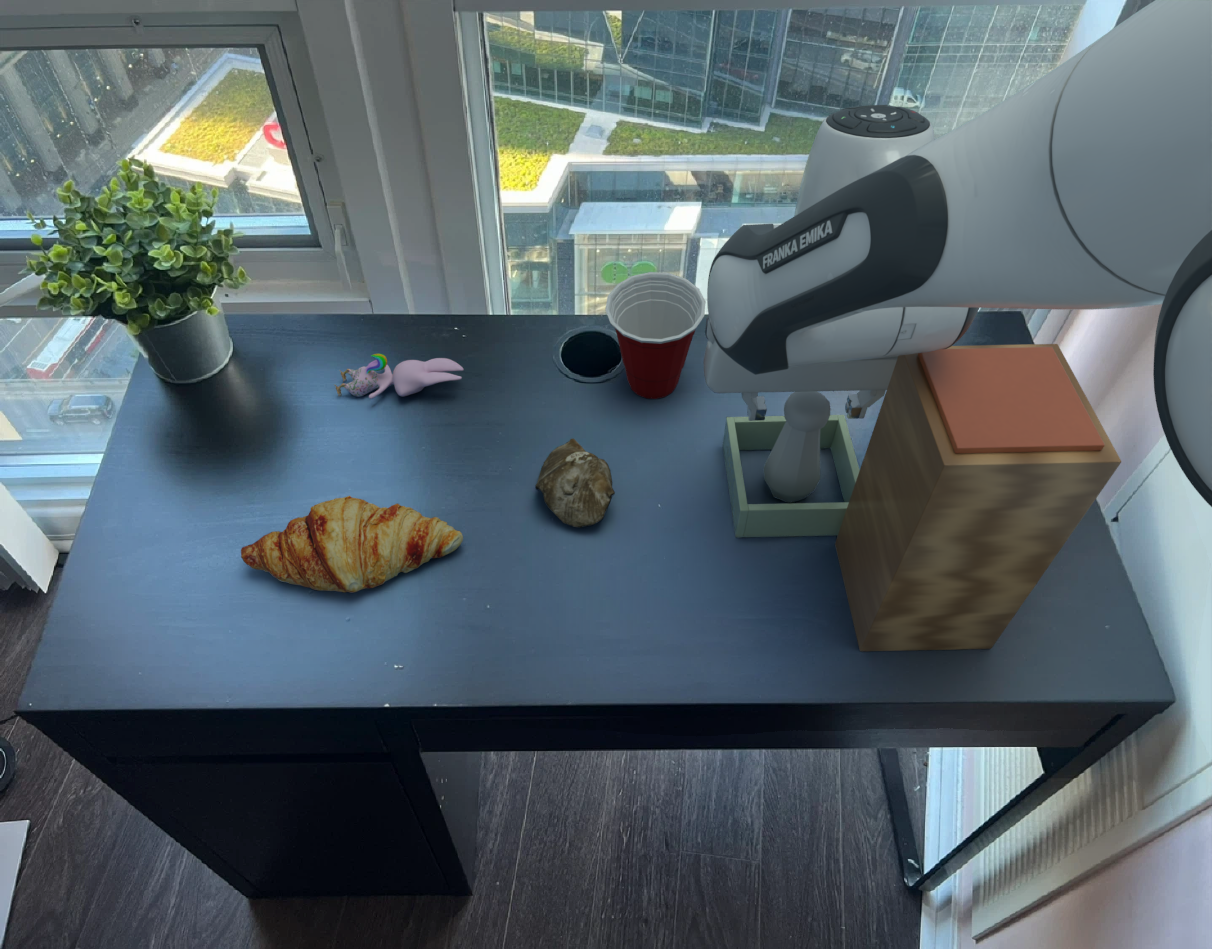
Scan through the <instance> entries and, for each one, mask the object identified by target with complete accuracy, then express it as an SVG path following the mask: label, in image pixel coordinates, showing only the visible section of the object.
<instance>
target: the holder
mask: <svg viewBox="0 0 1212 949" xmlns="http://www.w3.org/2000/svg"><path fill="white" fill-rule="evenodd" d="M785 423H786V420H785V416H784V415H765V420H759V421H749V419H748V416H727V417H725V423H724V424H725V425H724V432H723V438H722V452H723V459H724V466H725V472H726V480H727V486H728V493H729V499H730V500H729V501H730V509H731V515H732V523H733V529H734V537H735V538H777V537H781V538H782V537H821V536H825V537H826V536H828V537H829V536H838V533H839V530H840V527H841V524H842V521H843V518H844V516H845V513H846V510H847V507H848V504H849V501H850V498H851V495H852V492H853V489H854V486H855V483H856V480H857V477H858V474H859V471H860V466H859V462H858V459H857V456H856V451H855V448H854V445H853V441H852V437H851V434H850V429H849V426H848V423H847V419H846V416H845V414H830V417H829V419H828V421H827V423H826V425H825V426H824V427H823V428H821V429H820V449H830V452H831V455H832V459H833V463H834V467H835V472H836V475H837V479H838V484H839V486H840V491H841V494H842V500H843V502H839V501H838V502H796V503H795V502H792V503H748V498H747V492H746V486H745V485H746V484H745V481H744V479H745V478H744V473H743V466H742V460H741V454H740V451H759V450H761V451H762V450H763V451H764V450H772V449H773V447H774V445H775V443H776V441H777V439H778V437H779V435H780V433H781V431H782V429H783V427H784V425H785Z"/></svg>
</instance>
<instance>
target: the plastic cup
mask: <svg viewBox="0 0 1212 949" xmlns="http://www.w3.org/2000/svg"><path fill="white" fill-rule="evenodd" d="M706 303H707V302H706V300H705V297H704V295H703V294H702V291H701V290H700V288H699V287H698V286H696V285H695V284H693V283H692V282H691V281H690V280H688V278H686V277H682V276H679V275H675V274H674V273H670V272H659V271H658V272H657V271H649V272H644V273H640V274H635V275H631V276H629V277H628V278H625V279H624V280H622V281H620V282H619V283H617V284H616V285H615V286H614V287H613V289H612V290H611V291H610V293H609V294H608V295H607V297H606V303H605V309H604V310H605V312H606V313H605V314H606V315H607V318H608V320H609V323H610V325H611V326H612V327H613V328H614V330H615V332H616V337H617V342H618V346H619V351H620V355H621V358H622V364H623V367H624V370H625V374H626V380H627V382H628V385H629V387H630V389H631V391H633V392H634V394H636V395H637V396H640V397H642V398H644V399H653V400H656V399H661V398H665V397H667V396H669V395H671V394H672V393H673V392H674V391H675V389H676V387H677V385H678V384H679V382H680V378H681V374H682V370H683V369H684V367H685V363H686V360H687V357H688V354H689V350H690V347H691V343H692V340H693V337H694V335H695V333H696V330H697V328H698V327H699V325H700V323H701V322H702V321H703V319H704V318H705V314H706Z"/></svg>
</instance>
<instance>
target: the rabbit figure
mask: <svg viewBox="0 0 1212 949" xmlns="http://www.w3.org/2000/svg"><path fill="white" fill-rule="evenodd" d="M370 357H373V358H374V360H372V361H371V362H369V363H368V364H367V366H360V367H359V368H357V369H351V368H346V370H344V371H342V370H340V369H338V371H339V373H340V376H341V378H342V380H343V381H342V383H341V384H340V385H338V386H337V384H334V387H335V390H336V392H337V395H338V397H342V395H343V394H342V389H341V388H344V389H345V390H347V392H349V393H350V394H351V395H352V396H354V397H363V396H365V395H367V394H369V393H370V394H369V395H368V399H370V400H371V399H372V400H373V399H374V398H376V397H378V396H379V395H380V394H382V393H383V392H384V391H385V390H387V389H388V387H390V386H392V385H394V390H395V393H396V394H397V395H398V396H400V397H407V396H410V395H414V394H417V393H419V392H422V390H423V389H424V388H425V387H429V386H433V385H435V384H439V383H444V382H452V381H460V380H462V378H463V377H462V376H460V375H457V374H453V373H450V372H463V371H464V368H463V366H462V365H460V364H459V363H457V362H456V361H455V360H452V359H450V358H446V357H436V358H431V359H429V360H426V361H422V360H418V359H407V360H403V361H401V362H399V363H398V364H397V365H396V366H395V367H394V369H393V371H392V370H391V368H390V366H389V364H388V358H387V356H386V355H384V354H383V353H374V354H372V355H370ZM382 370H384V372H383V373H378V372H379V371H382ZM377 371H378V372H377ZM347 374H348V375H349V376H350V377H351V379H352V381H350V382H348V383H344V382H347ZM376 389H377V390H376ZM374 390H376V391H374ZM373 391H374V392H373ZM371 392H372V393H371Z"/></svg>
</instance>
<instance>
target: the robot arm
mask: <svg viewBox="0 0 1212 949" xmlns="http://www.w3.org/2000/svg"><path fill="white" fill-rule="evenodd" d="M797 194H798V195H797V199H796V204H795V209H794V215H793V216H792V217H791V218H789V219H787V220H786V221H784V222H783V223H781V224H774V223H757V224H743V225H741V226H740V227H739V228H738V229H737V230H736V231H735V232H733V234H731V236H730V237H729V238H728V239H727V240H726V241H725V242H724V244H723V245H722V247H721V248H720V249H719V250H718V251H717V253H716V255H715V256H714V258H713V260H712V262H711V265H710V269H709V272H708V278H707V290H706V291H707V292H706V293H707V294H706V298H707V299H706V300H707V302H706V303H707V313H708V314H707V317H706V321H705V329H704V333H705V337H706V339H707V342H706V347H705V350H704V355H703V375H704V382H705V385H706V386H707V388H709V389H710V390H711V391H712V392H713V393H715V394H740V395H741V399H742V400H743V402H744V404H746V406H747V407H746V408H747V409H746V410H747V417H748V419H749V421H759V420H765V416H767V410H768V408H767V403H766V398H765V396H764V395H758V394H759V393H794V392H810V391H817V392H852V391H853V392H855V391H857V393H853V394H852V393H851V394H850V393H849V394H848V395H847V398H846V402H845V403H844V404H845V405H844V410H845V413H846V418H847V419H848V420H850V419H852V420H853V419H855V420H857V419H861V420H864V419H865V417H866V414H867V410H868V408H870V407H871V406H873V405H875V403H876V402H878V401H879V400H880V399H881V398H883V397H885V394H886V391H887V388H888V385H889V382H890V379H891V376H892V373H893V370H894V367H895V364H896V361H897V358H898V356H899V355H908V354H916V353H924V352H931V351H935V350H940V349H947V348H949V347H951V346H954V345H955V344H956V343H957V342H958V341H960V339H961V338H963V337H964V335H965V334H966V333H967V331H968V330H969V328H970V327H971V325H972V324H973V322H974V320H975V319H976V317H977V314H978V312H979V310H980V309H1016V310H1017V309H1019V310H1020V309H1025V310H1063V311H1065V310H1066V311H1067V310H1068V311H1069V310H1072V311H1077V310H1078V311H1080V310H1081V311H1085V310H1087V311H1088V310H1089V311H1091V310H1093V311H1095V310H1114V309H1115V310H1117V309H1128V308H1141V307H1152V306H1159V305H1161V307H1160V311H1159V313H1158V318H1157V323H1156V328H1155V336H1154V346H1153V347H1154V348H1153V372H1152V373H1153V374H1152V375H1153V389H1154V390H1153V392H1154V397H1155V404H1156V409H1157V414H1158V418H1159V421H1160V425H1161V428H1162V431H1163V434H1164V436H1165V439H1166V442H1167V444H1168V446H1169V449H1170V450H1171V453H1172V454H1173V457H1174V458H1175V460H1176V462H1177V464H1178V466H1179V467H1180V469H1181V471H1182V472H1183V474H1184V476H1185V477H1186V478H1187V480H1188V481H1189V483H1190V484H1191V485H1192V487H1193V488H1194V490H1196V492H1197V494H1199V495H1200V496H1201V498H1202V499H1203V500H1204V501H1205V502H1206V503H1207V504H1208V506H1210V507H1211V508H1212V0H1153V1H1151V2H1150V3H1148V4H1147V5H1145V6H1144V7H1142V8H1140V9H1139V10H1138V11H1137V12H1135V13H1133V14H1132V15H1131V16H1129V17H1127V18H1126V19H1125V20H1123V21H1122V22H1121V23H1119V24H1118V25H1116V26H1115V27H1113V28H1112V29H1110V30H1109V31H1107V33H1105V34H1103V35H1102V36H1101V37H1099V38H1098V39H1097V40H1095V41H1094V42H1092V43H1091V44H1090V45H1088V46H1086V47H1085V48H1083V49H1082V50H1080V51H1079V52H1078V53H1075V55H1073V56H1071V57H1070V58H1069V59H1067V60H1065V61H1064V62H1063V63H1061V64H1060V65H1059V66H1057V67H1055V68H1053V69H1052V70H1050V71H1049V72H1048V73H1046V74H1044V75H1042V76H1041V77H1039V78H1037V79H1036V80H1035V81H1033V82H1031V83H1030V84H1028V85H1026V86H1025V87H1023V88H1022V89H1020V90H1018V91H1016V92H1015V93H1013V94H1011V95H1010V96H1008V97H1007V98H1005V99H1004V100H1002V101H1001V102H998V103H997V104H996V105H994V106H992V107H991V108H989V109H987V110H986V111H984V112H982V113H980V114H979V115H977V116H975V117H973V118H972V119H970V120H967V121H966V122H965V123H963V124H961V125H959V126H957V127H955V128H954V129H951V130H949V131H948V132H946V133H944V134H942V135H940V136H938V137H935V130H934V127H933V124H932V122H931V121H930V120H929V119H928V118H927V117H925V116H924V115H922V114H921V113H920V112H918V111H915V110H913V109H910V108H908V107H907V108H906V107H903V106H894V105H888V104H870V105H858V106H851V107H844V108H841V109H839V110H837V111H835V112H832V113H831V114H829V115H828V116H826V117H825V118H824V120H822V123H821V124H820V126H819V128H818V130H817V132H816V134H815V137H814V140H813V142H812V145H811V148H810V150H809V153H808V157H807V159H806V164H805V167H804V170H803V174H802V177H801V182H800V186H799V190H798V193H797Z"/></svg>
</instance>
